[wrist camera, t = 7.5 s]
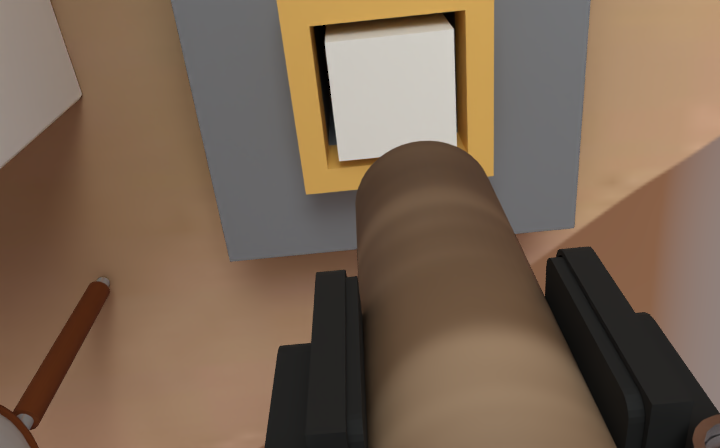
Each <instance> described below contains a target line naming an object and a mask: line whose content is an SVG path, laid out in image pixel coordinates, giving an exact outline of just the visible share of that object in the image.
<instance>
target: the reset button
mask: <svg viewBox="0 0 720 448" xmlns="http://www.w3.org/2000/svg"><path fill="white" fill-rule="evenodd" d="M325 49H326V57H327V65H328V74H329V82H330V90H331V98H332V107H333V115H334V123H335V131H336V140H337V148H338V156H339V161H348V160H358V159H368V158H378V157H381V156H382V155H384V154H385V153H387V152H388V151H390V150H392V149H394V148H396V147H398V146H401V145H404V144H407V143H411V142H417V141H439V142H444V143H448V144H451V145H454V146H456V147H457V132H456V94H455V56H454V29H453V27H452V26H451V25H450V23H449V22H448V20H447V19H446V18H445V16H444V15H443V13H432V14H423V15H413V16H404V17H394V18H385V19H375V20H366V21H356V22H347V23H337V24H328V25H326V33H325Z"/></svg>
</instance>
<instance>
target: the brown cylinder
mask: <svg viewBox="0 0 720 448" xmlns="http://www.w3.org/2000/svg"><path fill="white" fill-rule="evenodd" d="M355 208H356V234H357V261H358V284H359V293H360V301H361V310H362V323H363V346H364V368H365V391H366V414H367V437H368V448H617V447H616V445H615V443H614V440H613V438H612V436H611V434H610V432H609V430H608V428H607V426H606V424H605V422H604V420H603V417H602V415H601V413H600V411H599V409H598V407H597V405H596V403H595V401H594V399H593V397H592V394H591V392H590V390H589V388H588V386H587V384H586V382H585V380H584V378H583V376H582V374H581V371H580V369H579V367H578V365H577V363H576V361H575V359H574V357H573V355H572V353H571V350H570V348H569V346H568V344H567V342H566V340H565V338H564V336H563V334H562V332H561V330H560V327H559V325H558V323H557V321H556V319H555V317H554V315H553V313H552V311H551V309H550V307H549V304H548V302H547V300H546V298H545V296H544V294H543V292H542V290H541V288H540V286H539V284H538V281H537V279H536V277H535V275H534V273H533V271H532V269H531V267H530V265H529V263H528V260H527V258H526V256H525V254H524V252H523V250H522V248H521V246H520V244H519V242H518V240H517V237H516V235H515V233H514V231H513V229H512V227H511V225H510V223H509V221H508V219H507V217H506V214H505V212H504V210H503V208H502V206H501V204H500V202H499V200H498V198H497V196H496V193H495V191H494V189H493V187H492V185H491V183H490V181H489V179H488V177H487V175H486V173H485V171H484V169H483V168H482V167H481V165H480V164H479V163H478V161H477V160H475V159H474V158H473V157H472V156H471V155H470V154H468V153H467V152H466V151H464V150H462V149H460V148H458V147H456V146H454V145H451V144H448V143H444V142H439V141H417V142H411V143H407V144H404V145H401V146H398V147H396V148H394V149H392V150H390V151H388V152H387V153H385V154H384V155H382V156H381V157H380V158H378V159H377V160H376V161H375V162H374V163H373V164H372V165H371V166H370V168H369V169H368V170H367V171H366V173H365V175H364V176H363V178H362V180H361V182H360V184H359V187H358V190H357V194H356V202H355Z"/></svg>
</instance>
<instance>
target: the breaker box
mask: <svg viewBox="0 0 720 448" xmlns="http://www.w3.org/2000/svg"><path fill="white" fill-rule="evenodd" d="M171 3H172V8H173V12H174V16H175V21H176V25H177V30H178V34H179V38H180V43H181V47H182V52H183V56H184V61H185V65H186V69H187V74H188V78H189V83H190V87H191V91H192V96H193V100H194V105H195V109H196V113H197V118H198V122H199V127H200V131H201V135H202V140H203V144H204V149H205V153H206V157H207V162H208V166H209V171H210V175H211V179H212V184H213V188H214V193H215V197H216V201H217V206H218V210H219V215H220V219H221V223H222V228H223V232H224V237H225V241H226V245H227V250H228V254H229V259H230V262H231V261H242V260H252V259H262V258H272V257H283V256H293V255H303V254H313V253H324V252H334V251H344V250H354V249H357V234H356V208H355V202H356V194H357V190H358V187H359V184H360V182H361V180H362V178H363V176H364V175H365V173H366V171H367V170H368V169H369V168H370V166H371V165H372V164H373V163H374V162H375V161H376V160H377V159H378V158H380V157H378V158H368V159H358V160H348V161H339V156H338V148H337V140H336V131H335V123H334V115H333V107H332V101H330V94H329V86H328V78H327V70H326V61H325V53H324V45H323V37H322V29H321V25H328V24H337V23H347V22H356V21H366V20H375V19H385V18H394V17H404V16H413V15H423V14H432V13H443V15H444V16H445V18H446V19H447V20H448V22H449V23H450V25H451V26H452V27H453V29H454V56H455V94H456V132H457V147H458V148H460V149H462V150H464V151H466V152H467V153H468V154H470V155H471V156H472V157H473V158H474V159H475V160H477V161H478V163H479V164H480V165H481V167H482V168H483V169H484V171H485V173H486V175H487V177H488V179H489V181H490V183H491V185H492V187H493V189H494V191H495V193H496V196H497V198H498V200H499V202H500V204H501V206H502V208H503V210H504V212H505V214H506V217H507V219H508V221H509V223H510V225H511V227H512V229H513V231H514V233H515V234H519V233H529V232H539V231H549V230H560V229H570V228H574V225H575V211H576V197H577V183H578V169H579V155H580V140H581V126H582V112H583V98H584V84H585V70H586V56H587V42H588V28H589V14H590V0H171Z"/></svg>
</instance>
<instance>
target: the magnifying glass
mask: <svg viewBox="0 0 720 448" xmlns="http://www.w3.org/2000/svg"><path fill="white" fill-rule="evenodd" d="M109 285H110V282H109V280H108V279H107V278H104V277H100V278H98V279H97V281H95V282H92V283H90V285H89V286H88V288H87V289H86V291H85V293H84V294H83V296H82V298H81V299H80V301H79V303H78V304H77V306H76V308H75V309H74V311H73V313H72V314H71V316H70V318H69V319H68V321H67V323H66V324H65V326H64V328H63V329H62V331H61V333H60V334H59V336H58V338H57V339H56V341H55V343H54V344H53V346H52V348H51V349H50V351H49V353H48V354H47V356H46V358H45V359H44V361H43V363H42V364H41V366H40V368H39V369H38V371H37V373H36V374H35V376H34V378H33V379H32V381H31V383H30V384H29V386H28V388H27V389H26V391H25V393H24V394H23V396H22V398H21V399H20V401H19V403H18V404H17V406H16V408H15V409H14V411H13V412H12V411H10V410H9V409H7V408H6V407H4V406H2V405H0V448H39V447H38V445H37V443H36V441H35V439H34V437H33V436H32V434H31V433H30V431H29V430H32V429H35V428H36V427H37V426H38V425H39V423H40V421H41V419H42V417H43V416H44V414H45V412H46V410H47V408H48V406H49V404H50V403H51V401H52V399H53V397H54V395H55V393H56V392H57V390H58V388H59V386H60V384H61V382H62V380H63V379H64V377H65V375H66V373H67V371H68V369H69V367H70V366H71V364H72V362H73V360H74V358H75V356H76V355H77V353H78V351H79V349H80V347H81V345H82V343H83V342H84V340H85V338H86V336H87V334H88V332H89V331H90V329H91V327H92V325H93V323H94V321H95V319H96V318H97V316H98V314H99V312H100V310H101V308H102V306H103V305H104V303H105V301H106V299H107V297H108V295H109V293H110V290H109Z"/></svg>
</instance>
